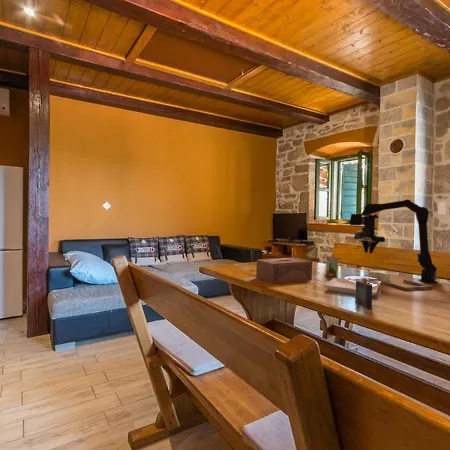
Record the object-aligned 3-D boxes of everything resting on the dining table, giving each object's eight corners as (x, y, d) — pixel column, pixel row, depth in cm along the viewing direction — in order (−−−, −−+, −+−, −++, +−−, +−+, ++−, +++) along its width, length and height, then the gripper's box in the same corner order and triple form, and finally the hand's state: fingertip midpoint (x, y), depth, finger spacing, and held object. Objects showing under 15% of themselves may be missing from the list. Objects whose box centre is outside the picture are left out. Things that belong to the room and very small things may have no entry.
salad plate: (380, 289, 151) (380, 282, 151) (375, 299, 132) (376, 291, 132) (333, 283, 162) (334, 277, 161) (323, 292, 143) (324, 284, 143)
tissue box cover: (294, 274, 183) (294, 257, 182) (311, 279, 170) (312, 261, 170) (256, 278, 171) (256, 259, 170) (272, 283, 158) (272, 263, 158)
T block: (383, 278, 178) (384, 270, 178) (395, 280, 170) (395, 273, 170) (368, 278, 175) (368, 271, 175) (379, 281, 168) (379, 273, 168)
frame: (405, 282, 167) (405, 279, 167) (432, 289, 152) (432, 286, 152) (380, 283, 163) (380, 280, 163) (404, 290, 148) (405, 287, 148)
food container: (340, 277, 175) (340, 259, 175) (328, 277, 177) (329, 259, 176) (337, 273, 187) (337, 256, 187) (326, 273, 189) (326, 256, 188)
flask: (353, 302, 127) (354, 275, 127) (360, 302, 127) (361, 275, 127) (367, 309, 118) (368, 280, 117) (374, 309, 118) (375, 280, 118)
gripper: (346, 225, 189) (345, 251, 190) (369, 226, 171) (367, 255, 172) (362, 225, 192) (361, 251, 193) (386, 226, 174) (385, 255, 175)
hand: (368, 253), depth 183 cm, fingers open, 3 cm apart
